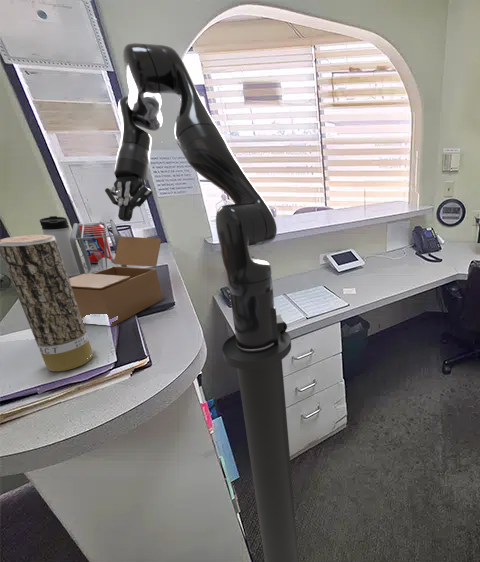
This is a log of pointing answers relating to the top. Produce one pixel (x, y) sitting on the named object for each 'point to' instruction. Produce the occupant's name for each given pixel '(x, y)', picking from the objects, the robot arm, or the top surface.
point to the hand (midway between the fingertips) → (124, 220)
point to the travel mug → (61, 241)
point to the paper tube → (47, 300)
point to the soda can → (96, 242)
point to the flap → (137, 251)
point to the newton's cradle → (103, 262)
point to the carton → (116, 292)
